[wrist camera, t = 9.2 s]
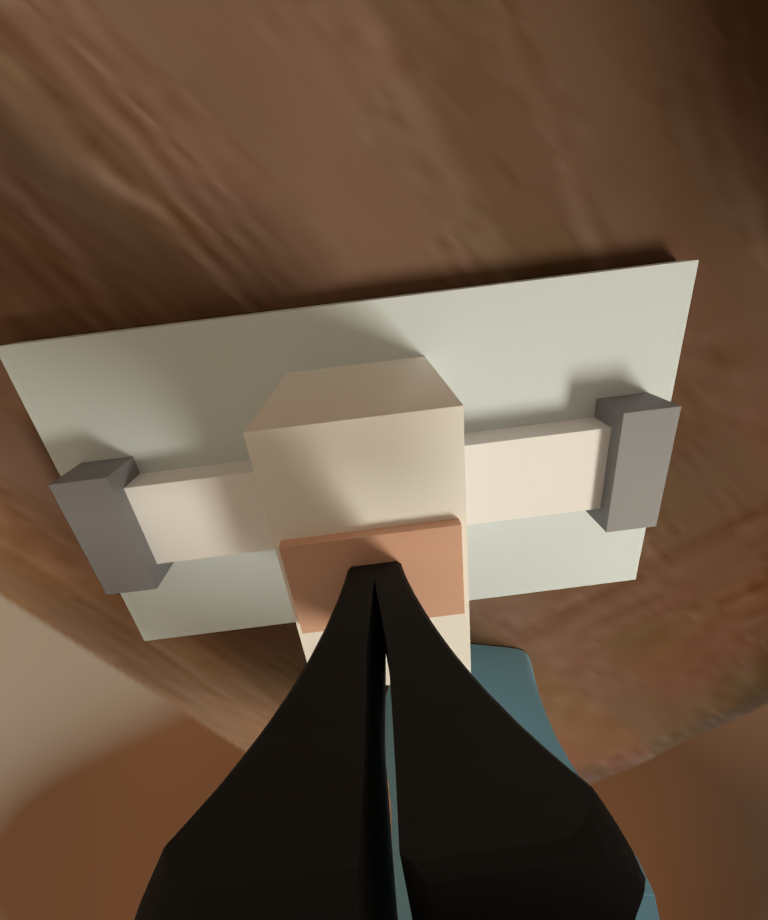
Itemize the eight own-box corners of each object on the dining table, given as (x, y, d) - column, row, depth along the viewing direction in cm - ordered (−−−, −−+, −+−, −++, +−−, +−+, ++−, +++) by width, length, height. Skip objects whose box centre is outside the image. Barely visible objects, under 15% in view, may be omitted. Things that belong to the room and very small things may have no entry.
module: (424, 355, 14) (466, 409, 9) (438, 555, 18) (473, 683, 13) (286, 372, 14) (239, 437, 9) (328, 569, 18) (314, 703, 13)
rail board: (677, 260, 15) (744, 257, 12) (623, 566, 20) (660, 607, 18) (17, 342, 14) (-56, 356, 12) (154, 624, 20) (125, 674, 18)
